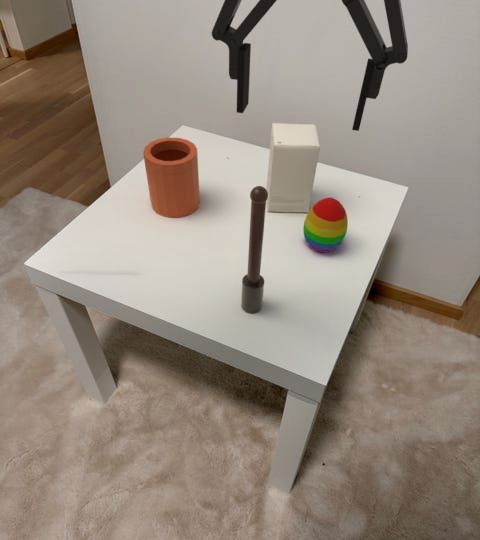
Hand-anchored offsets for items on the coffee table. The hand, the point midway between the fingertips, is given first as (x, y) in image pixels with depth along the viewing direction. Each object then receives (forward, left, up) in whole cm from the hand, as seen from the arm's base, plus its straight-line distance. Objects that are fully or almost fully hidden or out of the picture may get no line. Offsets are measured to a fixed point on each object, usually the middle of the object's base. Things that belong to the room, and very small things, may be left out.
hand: (298, 116), depth 52 cm
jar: (-20, +28, -32) cm, 47 cm away
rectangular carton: (+4, +30, -32) cm, 44 cm away
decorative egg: (+10, +16, -32) cm, 37 cm away
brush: (-4, -1, -32) cm, 32 cm away
